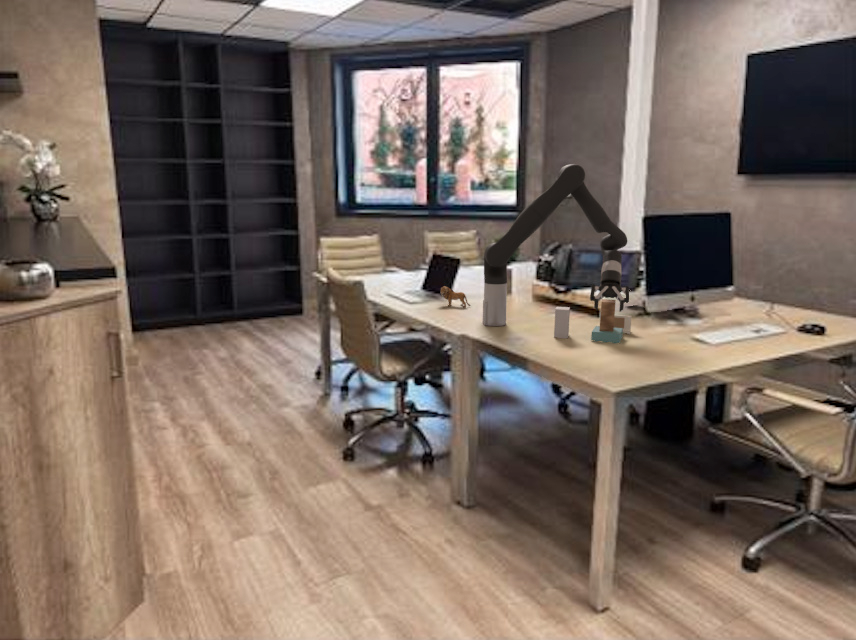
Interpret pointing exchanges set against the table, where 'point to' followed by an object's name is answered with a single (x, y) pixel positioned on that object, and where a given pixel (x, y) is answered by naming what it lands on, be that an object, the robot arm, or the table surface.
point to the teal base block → (607, 335)
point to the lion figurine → (453, 296)
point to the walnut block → (607, 315)
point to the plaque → (623, 323)
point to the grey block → (561, 322)
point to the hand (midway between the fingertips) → (608, 309)
